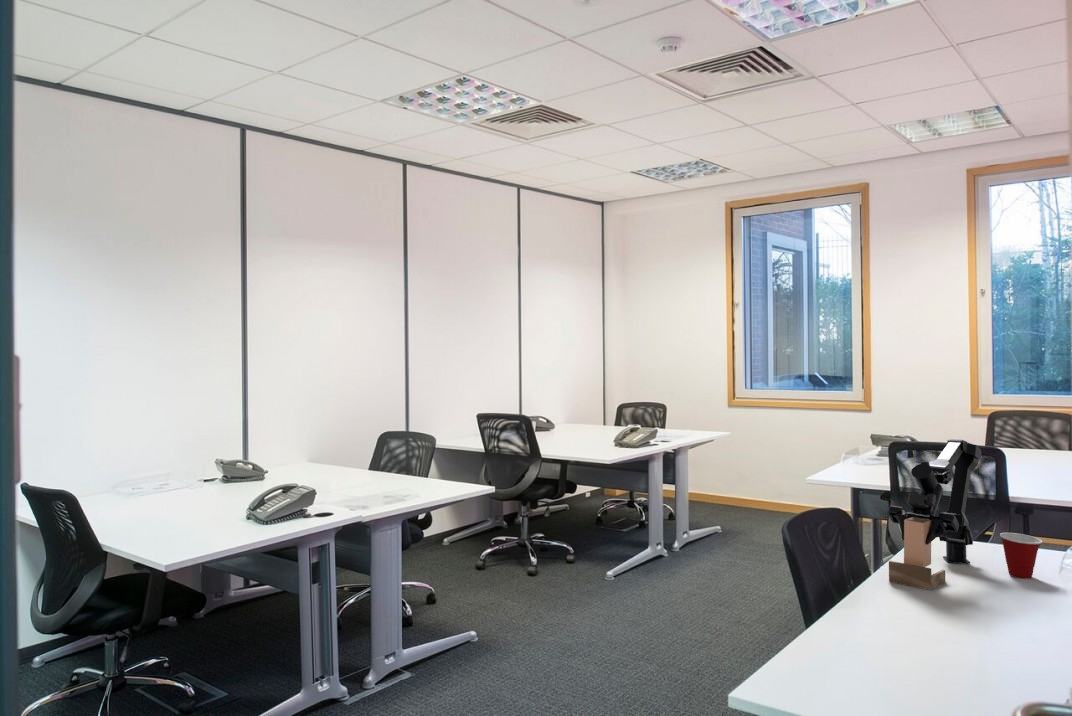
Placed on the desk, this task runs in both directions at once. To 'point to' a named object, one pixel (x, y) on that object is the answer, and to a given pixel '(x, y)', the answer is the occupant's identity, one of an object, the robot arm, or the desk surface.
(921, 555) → the tall peach pillar
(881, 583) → the desk surface
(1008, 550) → the plastic cup
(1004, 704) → the desk surface
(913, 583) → the brown l-shaped block
